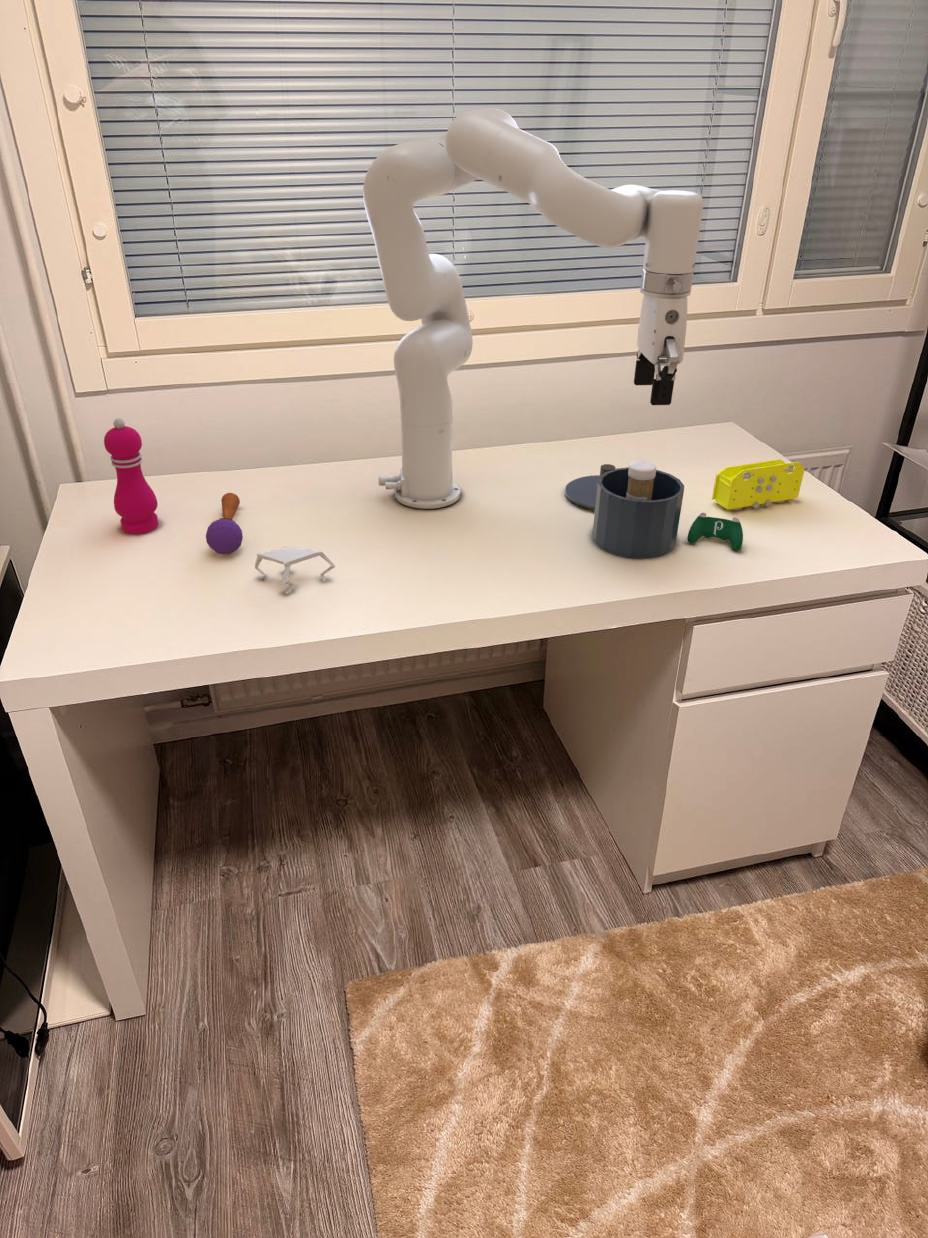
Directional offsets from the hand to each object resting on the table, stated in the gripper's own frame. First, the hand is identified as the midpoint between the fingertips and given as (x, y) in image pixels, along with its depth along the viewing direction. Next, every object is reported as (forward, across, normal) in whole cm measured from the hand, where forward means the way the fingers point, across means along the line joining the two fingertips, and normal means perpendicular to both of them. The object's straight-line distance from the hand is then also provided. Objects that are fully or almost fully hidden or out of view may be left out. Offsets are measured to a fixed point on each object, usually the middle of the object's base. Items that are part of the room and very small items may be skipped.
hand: (651, 394), depth 141 cm
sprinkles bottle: (+26, 0, 0) cm, 26 cm away
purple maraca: (+26, +8, +71) cm, 76 cm away
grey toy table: (+26, -10, +58) cm, 64 cm away
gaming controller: (+26, -2, -14) cm, 30 cm away
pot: (+26, 0, 0) cm, 26 cm away
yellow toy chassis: (+26, +13, -27) cm, 40 cm away
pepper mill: (+27, +12, +87) cm, 92 cm away
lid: (+26, +18, +1) cm, 31 cm away
